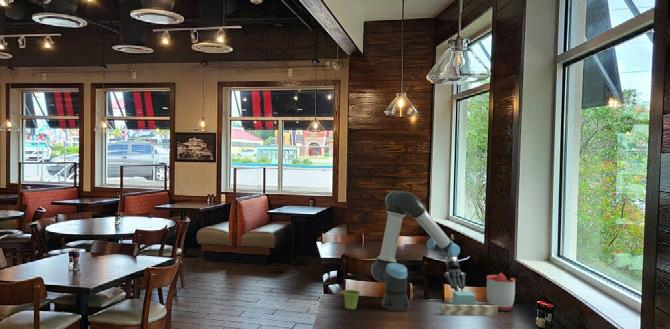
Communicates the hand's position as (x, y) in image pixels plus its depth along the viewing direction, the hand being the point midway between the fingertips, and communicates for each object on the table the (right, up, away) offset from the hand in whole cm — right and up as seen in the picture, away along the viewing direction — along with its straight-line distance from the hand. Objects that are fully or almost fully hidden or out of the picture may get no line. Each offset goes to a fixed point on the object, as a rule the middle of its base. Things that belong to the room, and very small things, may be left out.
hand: (460, 299), depth 256 cm
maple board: (0, -4, -15) cm, 16 cm away
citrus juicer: (+22, -5, -1) cm, 23 cm away
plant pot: (-63, -2, -10) cm, 64 cm away
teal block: (0, -4, -6) cm, 7 cm away
